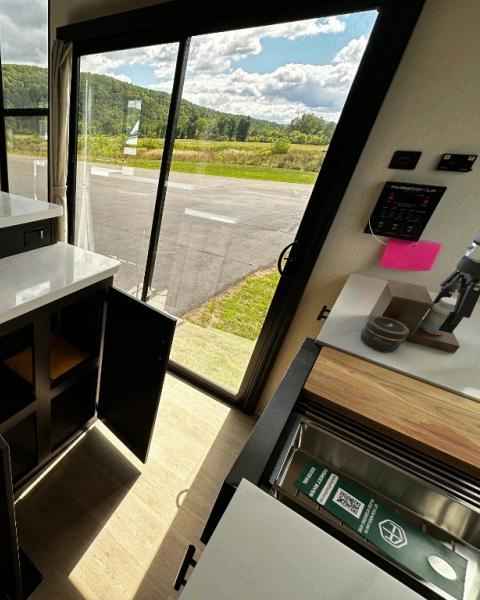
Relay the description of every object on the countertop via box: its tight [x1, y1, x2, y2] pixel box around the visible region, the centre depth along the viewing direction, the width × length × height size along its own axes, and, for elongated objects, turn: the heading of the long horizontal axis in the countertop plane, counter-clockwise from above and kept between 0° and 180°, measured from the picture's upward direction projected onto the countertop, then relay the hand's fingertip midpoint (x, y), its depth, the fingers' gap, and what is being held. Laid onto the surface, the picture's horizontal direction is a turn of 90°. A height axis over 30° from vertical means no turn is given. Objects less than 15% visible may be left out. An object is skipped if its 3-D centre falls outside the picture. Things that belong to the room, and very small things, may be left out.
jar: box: [359, 316, 409, 353], centre depth 101 cm, size 10×10×8 cm
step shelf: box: [368, 279, 461, 354], centre depth 103 cm, size 20×12×15 cm, turn 56°
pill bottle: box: [419, 297, 457, 335], centre depth 100 cm, size 6×6×11 cm
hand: (439, 320), depth 101 cm, fingers open, 13 cm apart
